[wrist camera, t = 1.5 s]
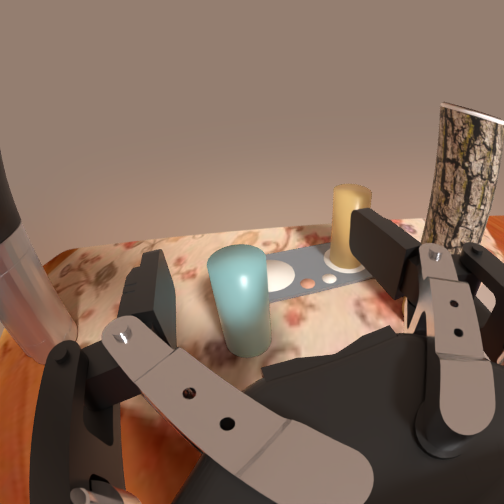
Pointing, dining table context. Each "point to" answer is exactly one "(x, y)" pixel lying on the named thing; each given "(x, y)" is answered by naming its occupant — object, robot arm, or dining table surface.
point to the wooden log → (463, 177)
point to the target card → (307, 272)
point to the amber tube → (346, 222)
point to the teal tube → (242, 298)
